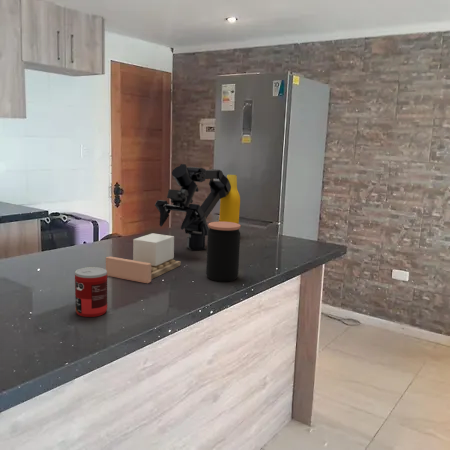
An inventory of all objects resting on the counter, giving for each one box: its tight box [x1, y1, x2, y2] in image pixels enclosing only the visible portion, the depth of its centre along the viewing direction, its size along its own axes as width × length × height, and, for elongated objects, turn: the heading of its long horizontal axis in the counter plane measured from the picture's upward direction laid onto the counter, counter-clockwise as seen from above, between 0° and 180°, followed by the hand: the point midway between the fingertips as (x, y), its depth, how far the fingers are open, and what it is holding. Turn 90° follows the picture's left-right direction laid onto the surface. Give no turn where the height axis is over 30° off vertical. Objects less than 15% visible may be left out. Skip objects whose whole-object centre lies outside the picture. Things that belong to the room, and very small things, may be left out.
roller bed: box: [151, 258, 182, 280], centre depth 159 cm, size 21×14×2 cm, turn 156°
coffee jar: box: [205, 221, 242, 283], centre depth 153 cm, size 11×11×18 cm
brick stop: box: [105, 256, 152, 284], centre depth 148 cm, size 2×16×6 cm, turn 66°
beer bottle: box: [218, 174, 241, 224], centre depth 212 cm, size 9×9×29 cm
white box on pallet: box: [132, 232, 175, 266], centre depth 161 cm, size 12×9×8 cm
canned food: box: [74, 266, 108, 318], centre depth 119 cm, size 8×8×11 cm
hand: (170, 227), depth 172 cm, fingers open, 9 cm apart
